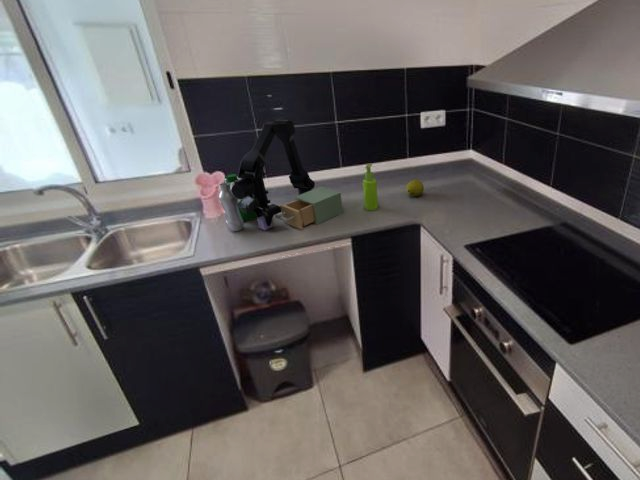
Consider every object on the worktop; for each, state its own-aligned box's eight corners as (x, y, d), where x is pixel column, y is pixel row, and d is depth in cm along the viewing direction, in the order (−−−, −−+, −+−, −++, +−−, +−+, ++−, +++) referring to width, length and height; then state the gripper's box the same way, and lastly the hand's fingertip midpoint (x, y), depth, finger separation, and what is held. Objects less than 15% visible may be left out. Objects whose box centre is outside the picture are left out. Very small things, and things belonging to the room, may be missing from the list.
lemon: (415, 190, 192) (415, 175, 188) (427, 194, 187) (427, 179, 183) (401, 197, 184) (400, 182, 180) (413, 201, 180) (413, 185, 176)
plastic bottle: (248, 227, 159) (237, 181, 149) (237, 234, 153) (224, 188, 143) (236, 224, 160) (224, 180, 151) (224, 232, 155) (210, 186, 145)
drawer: (291, 233, 151) (287, 215, 148) (274, 225, 157) (270, 208, 154) (326, 217, 164) (323, 200, 160) (309, 210, 170) (306, 194, 166)
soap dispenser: (379, 204, 178) (376, 162, 168) (376, 210, 171) (373, 168, 162) (367, 203, 178) (363, 162, 168) (363, 210, 172) (360, 167, 162)
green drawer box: (317, 224, 160) (313, 203, 155) (298, 216, 167) (294, 196, 162) (342, 212, 170) (340, 192, 166) (324, 205, 177) (321, 186, 172)
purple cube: (258, 227, 157) (256, 218, 155) (267, 223, 160) (265, 214, 158) (264, 230, 155) (262, 221, 152) (273, 226, 157) (271, 217, 155)
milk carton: (232, 217, 166) (220, 174, 157) (252, 211, 172) (242, 169, 163) (241, 223, 161) (230, 179, 152) (262, 216, 167) (251, 173, 157)
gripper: (225, 190, 148) (235, 225, 156) (252, 201, 139) (261, 238, 146) (251, 182, 156) (259, 216, 164) (278, 192, 146) (285, 228, 154)
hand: (265, 224), depth 157 cm, fingers closed on purple cube, 4 cm apart
